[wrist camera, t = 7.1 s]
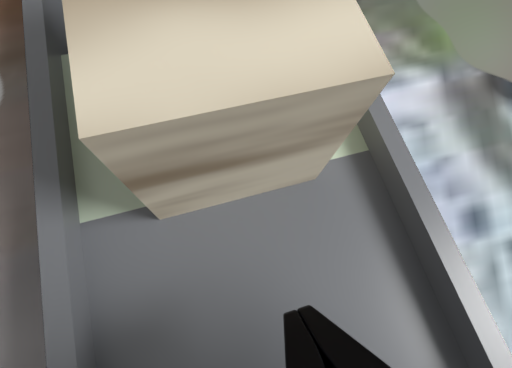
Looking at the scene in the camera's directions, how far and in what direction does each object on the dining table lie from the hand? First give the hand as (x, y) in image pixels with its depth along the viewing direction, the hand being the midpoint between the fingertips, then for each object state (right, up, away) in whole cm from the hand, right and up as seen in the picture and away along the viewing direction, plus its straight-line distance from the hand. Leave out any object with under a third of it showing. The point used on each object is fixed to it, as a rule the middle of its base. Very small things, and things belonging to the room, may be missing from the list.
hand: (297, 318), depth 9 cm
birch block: (-3, +8, +8) cm, 11 cm away
